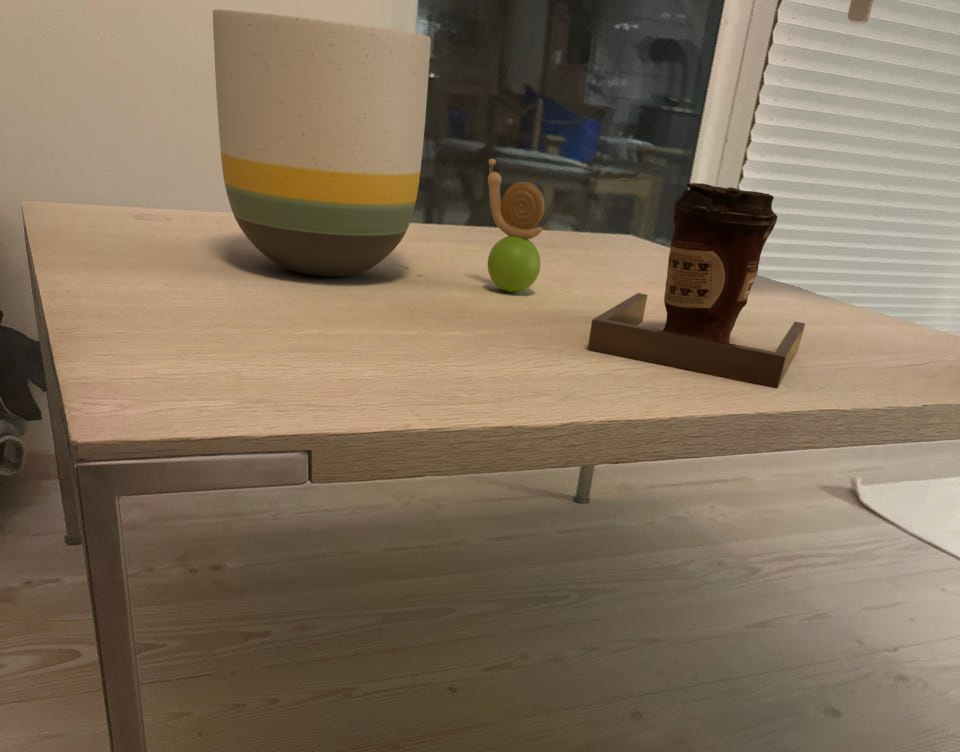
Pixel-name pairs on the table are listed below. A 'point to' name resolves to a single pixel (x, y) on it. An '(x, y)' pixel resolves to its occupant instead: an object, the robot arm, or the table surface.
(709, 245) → the coffee cup
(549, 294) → the table surface
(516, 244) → the snail figurine
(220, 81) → the planter
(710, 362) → the corral
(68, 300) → the table surface
